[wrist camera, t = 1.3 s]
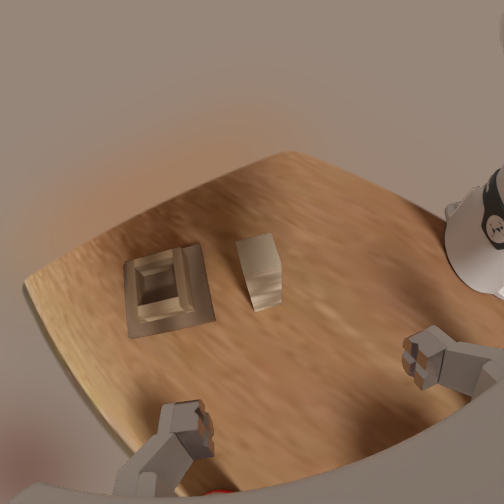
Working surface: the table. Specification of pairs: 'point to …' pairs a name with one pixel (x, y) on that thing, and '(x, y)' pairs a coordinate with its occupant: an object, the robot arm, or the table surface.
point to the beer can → (218, 492)
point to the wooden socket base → (167, 292)
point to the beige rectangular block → (261, 270)
